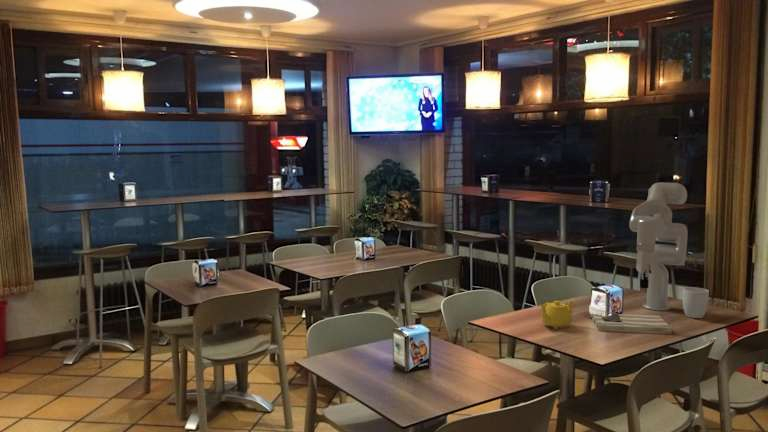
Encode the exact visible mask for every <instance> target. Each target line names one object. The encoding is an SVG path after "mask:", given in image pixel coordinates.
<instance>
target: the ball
mask: <svg viewBox="0 0 768 432" xmlns="http://www.w3.org/2000/svg"><path fill="white" fill-rule="evenodd" d="M607 314H608V315H607V316H606V321H607V322H620V316H619V315H618V314H619V313H617V312H615V311H612V312H609V313H607Z"/></svg>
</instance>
